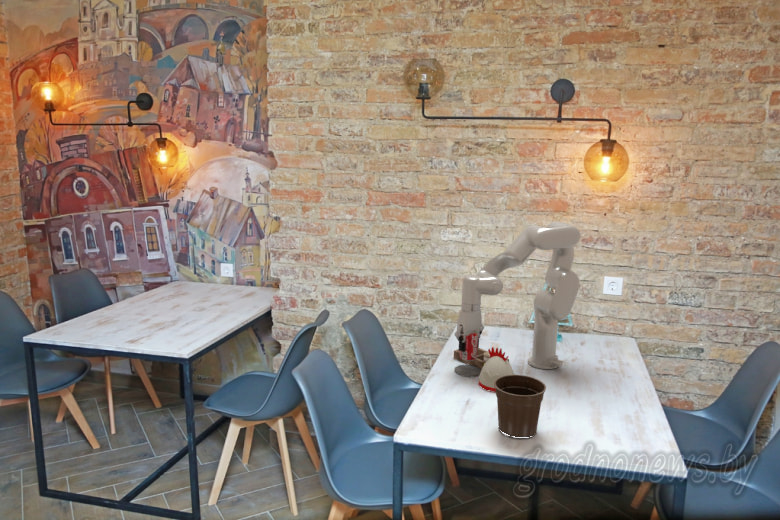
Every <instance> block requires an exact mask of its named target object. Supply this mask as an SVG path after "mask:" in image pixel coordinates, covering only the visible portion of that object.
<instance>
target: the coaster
mask: <svg viewBox="0 0 780 520" xmlns="http://www.w3.org/2000/svg"><path fill="white" fill-rule="evenodd" d="M453 370H454V371H453V372H454V373H455V374H456V375H459V376H463V377H467V376H468V378H469V377H470V378H471V376H473V377H479V376H480V373H481V369H480V368H478V367H476V366H472V365H468V364H461V365H458V366H455V367H454V369H453Z"/></svg>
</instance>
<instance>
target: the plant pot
mask: <svg viewBox="0 0 780 520" xmlns="http://www.w3.org/2000/svg"><path fill="white" fill-rule="evenodd" d="M494 386H495V388H496V392H495V397H496V398H497V399H496V403H497V424H498V426H499V427H498V430H499V429H500V430H501V431H502V432H504V433H506V434H508V435H510V436H509V437H511V436H515V437H530V436H533V435H534V436H535V435H536V434H537V431H538V425H539V424H538V423H539V418H540V412H541V406H542V402H543V400H544V394H545V392H546V389H547V385H546V383H544V382H543V381H541V380H540V379H537V378H535V377H532V376H528V375H523V374H514V375H506V376H502V377H499V378H497V379H496V380H495V381H494ZM534 436H533V437H534Z"/></svg>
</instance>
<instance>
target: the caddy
mask: <svg viewBox="0 0 780 520" xmlns="http://www.w3.org/2000/svg"><path fill="white" fill-rule="evenodd" d="M484 352H488V350H486V349H483V348H478V349H477V358H476V359H475V360H473V361H465V360H463V359H462V358H460V350H459V348H458V349H454V350H453V359H454V360H456V361H459V362H461V363H464V364H465V365H472V366H476V367H478V368H480V369H481V370H482V368H483V366H484V363H486V362H485V361H484ZM507 361H508V362H509V363H510V359H509V358H508V359H507Z"/></svg>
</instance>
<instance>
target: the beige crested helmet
mask: <svg viewBox="0 0 780 520" xmlns="http://www.w3.org/2000/svg"><path fill="white" fill-rule="evenodd" d="M487 351H488V352H489V354H490V357H491V358H490V359H488V360H487V361H486V363H484V366H483V368H482V370H481V373H480V375H478V386H479V385H480V386H481V387H482V388H481V387H480V386H479V387H480V388H481V389H483V388H484V389H483V390H485V389H486V391H487V390H490V391H489V392H491V391H495V392H494V393H496V388H495V386H494V381H495V380H496V379H497V378H499V377H502V376H506V375H515V373H514V369H513V367H512V365H511V364H510V361H509V362H508V361H507V359H509V355H507V356H506V351H504V352H503V351H502V348H499V347H498V346H497V347H496V348H495V347H493V346H492V347H491V349H490V348H488V350H487ZM505 356H506V357H505Z"/></svg>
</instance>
